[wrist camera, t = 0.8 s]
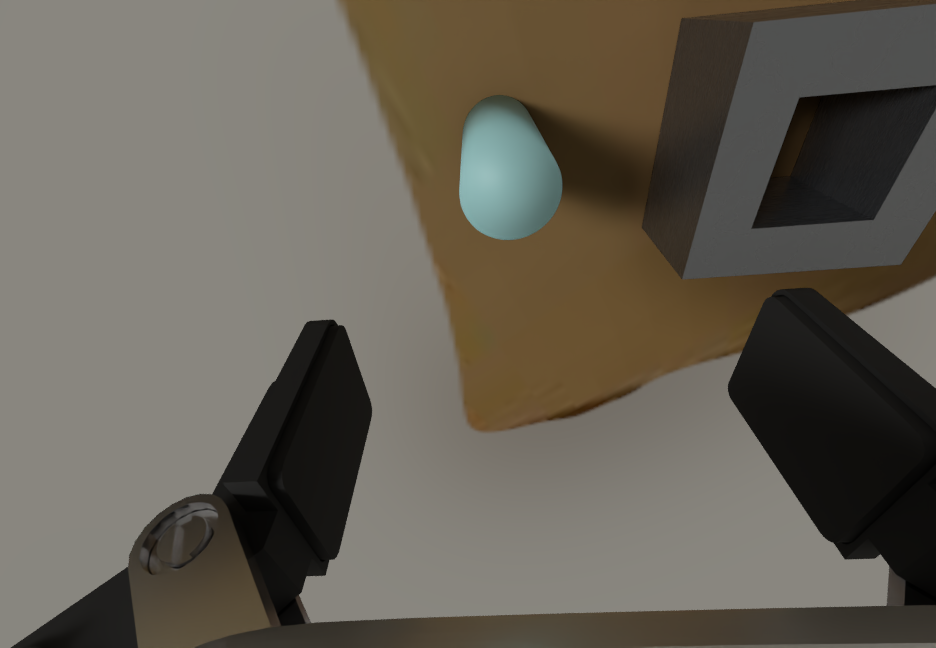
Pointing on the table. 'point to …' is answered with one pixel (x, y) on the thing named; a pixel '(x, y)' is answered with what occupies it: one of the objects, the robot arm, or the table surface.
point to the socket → (824, 150)
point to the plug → (506, 171)
